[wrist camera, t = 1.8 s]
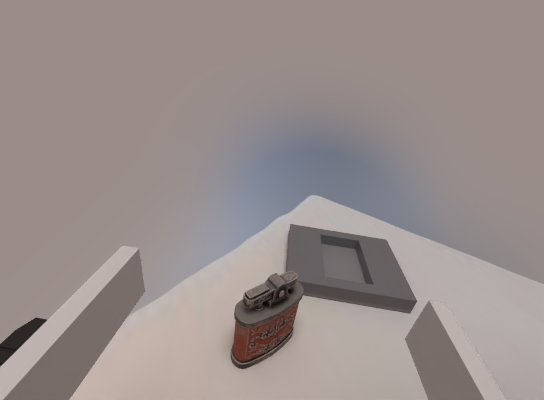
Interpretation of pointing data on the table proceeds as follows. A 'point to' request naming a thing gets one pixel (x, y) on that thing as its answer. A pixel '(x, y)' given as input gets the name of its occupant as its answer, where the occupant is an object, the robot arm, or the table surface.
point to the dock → (348, 268)
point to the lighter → (265, 319)
